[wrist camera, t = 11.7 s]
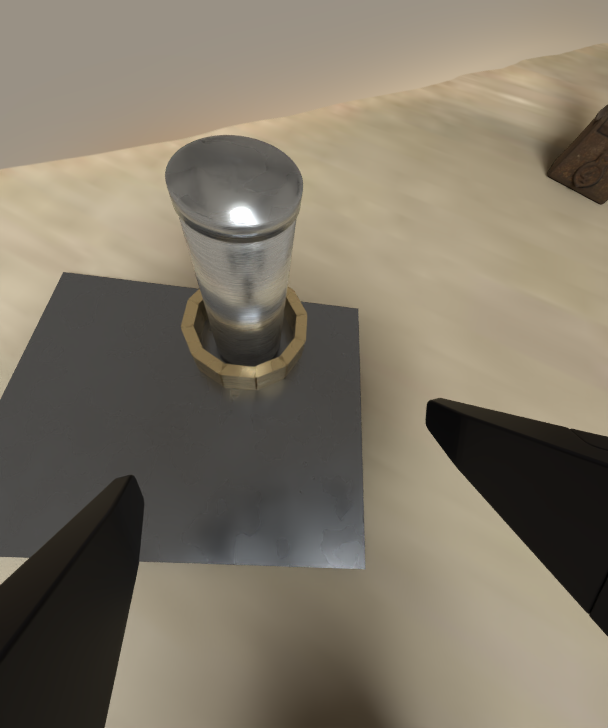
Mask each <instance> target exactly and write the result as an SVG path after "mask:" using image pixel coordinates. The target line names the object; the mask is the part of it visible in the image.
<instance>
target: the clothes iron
mask: <svg viewBox="0 0 608 728" xmlns="http://www.w3.org/2000/svg"><path fill="white" fill-rule="evenodd" d="M548 176H549V177H551V178H552V179H554V180H556V181H558V182H560V183H562V184H564V185H566V186H567V187H569V188H571V189H573V190H575V191H577V192H579V193H581V194H583V195H584V196H586V197H588V198H590V199H592V200H594V201H596V202H598V203H600V204H604V203H605V202H606V201H607V200H608V105H606V106H605V107H604V108H603V109H601V110H600V111H599V112H598V114H597V115H596V117H595V118H594V119H593V120H592V122H591V123H590V124H589V125H588V126H587V127H586V128H585V129H584V131H583V132H582V133H581V134H580V135H579V136H578V137H577V138H576V139H575V140H574V142H573V143H572V144H571V145H570V146H569V147H568V148H567V149H566V150H565V151H564V152H563V153H562V154H561V155H560V156H559V157H558V158H557V159H556V160H555V162H554V163H553V165H552V166H551V168H550V170H549V172H548Z"/></svg>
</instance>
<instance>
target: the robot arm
mask: <svg viewBox="0 0 608 728" xmlns="http://www.w3.org/2000/svg"><path fill="white" fill-rule="evenodd" d="M426 426H427V428H428V430H429V431H430V433H431V434H432V435H433V437H434V438H435V439H436V441H437V442H438V443H439V445H440V446H441V447H442V449H443V450H444V452H445V453H446V454H447V456H448V457H449V458H450V460H451V461H452V462H453V463H454V465H455V466H456V467H457V468H458V470H459V471H460V472H461V473H462V474H463V475H464V476H465V477H466V479H467V480H468V481H469V482H470V483H471V484H472V485H473V486H474V487H475V489H476V490H477V491H478V492H479V493H480V494H481V495H482V496H483V498H484V499H485V500H486V501H487V502H488V503H489V504H490V505H491V506H492V508H493V509H494V510H495V511H496V512H497V513H498V514H499V515H500V516H501V518H502V519H503V520H504V521H505V522H506V523H507V524H508V525H509V527H510V528H511V529H512V530H513V531H514V532H515V533H516V534H517V535H518V537H519V538H520V539H521V540H522V541H523V542H524V543H525V544H526V545H527V547H528V548H529V549H530V550H531V551H532V552H533V553H534V554H535V556H536V557H537V558H538V559H539V560H540V561H541V562H542V563H543V564H544V566H545V567H546V568H547V569H548V570H549V571H550V572H551V573H552V574H553V576H554V577H555V578H556V579H557V580H558V581H559V582H560V583H561V585H562V586H563V587H564V588H565V589H566V590H567V591H568V592H569V593H570V595H571V596H572V597H573V598H574V599H575V600H576V601H577V602H578V604H579V605H580V606H581V607H582V608H583V609H584V610H585V611H586V612H587V613H588V614H589V616H590V617H591V618H592V619H593V621H594V622H595V623H596V624H597V625H598V626H599V627H600V628H601V629H602V631H603V632H604V633H605V634H606V635H607V636H608V437H606V436H602V435H597V434H593V433H589V432H584V431H580V430H576V429H569V428H567V427H563V426H558V425H554V424H550V423H546V422H541V421H537V420H533V419H528V418H524V417H520V416H516V415H511V414H507V413H503V412H499V411H494V410H490V409H486V408H482V407H477V406H473V405H469V404H464V403H460V402H456V401H452V400H447V399H443V398H437V399H433V400H430V401H428V403H427V409H426ZM143 516H144V498H143V495H142V492H141V490H140V487H139V485H138V482H137V480H136V478H135V476H134V475H127V476H123V477H119V478H116V479H114V480H113V481H112V482H111V483H110V484H109V485H108V486H107V487H106V488H105V489H103V490H102V491H101V492H100V493H99V494H98V495H97V496H96V497H95V498H94V499H93V500H92V501H91V502H89V503H88V504H87V505H86V506H85V507H84V508H83V509H82V510H81V511H80V512H79V513H78V514H76V515H75V516H74V517H73V518H72V519H71V520H70V521H69V522H68V523H67V524H66V525H65V526H64V527H62V528H61V529H60V530H59V531H58V532H57V533H56V534H55V535H54V536H53V537H52V538H51V539H49V540H48V541H47V542H46V543H45V544H44V545H43V546H42V547H41V548H40V549H39V550H38V551H37V552H35V553H34V554H33V555H32V556H31V557H30V558H29V559H28V560H27V561H26V562H25V563H24V564H22V565H21V566H20V567H19V568H18V569H17V570H16V571H15V572H14V573H13V574H12V575H11V576H10V577H8V578H7V579H6V580H5V581H4V582H3V583H2V584H1V585H0V728H105V723H106V718H107V714H108V709H109V704H110V699H111V695H112V690H113V685H114V680H115V676H116V671H117V666H118V661H119V656H120V652H121V647H122V642H123V637H124V633H125V628H126V623H127V618H128V614H129V609H130V604H131V599H132V595H133V590H134V585H135V580H136V576H137V570H138V565H139V557H140V547H141V537H142V526H143Z"/></svg>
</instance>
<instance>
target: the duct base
mask: <svg viewBox="0 0 608 728" xmlns="http://www.w3.org/2000/svg"><path fill="white" fill-rule="evenodd" d="M127 475H134V476H135V478H136V480H137V482H138V485H139V487H140V490H141V492H142V495H143V498H144V516H143V526H142V537H141V547H140V557H139V561H141V562H171V563H201V564H230V565H260V566H289V567H319V568H348V569H365V539H364V503H363V467H362V430H361V394H360V358H359V322H358V309H356V308H348V307H340V306H332V305H324V304H316V303H308V302H300V300H299V298H298V297H297V295H296V293H295V291H293V289H291V288H290V287H288V286H287V294H286V301H285V309H284V316H283V324H282V332H281V339H280V345H279V348H278V351H277V352H276V354H275V355H274V356H273V357H272V358H271V359H270V360H269V361H267V362H265V363H262V364H260V365H257V366H255V367H252V366H242V365H234V364H232V363H230V362H228V361H227V360H225V359H224V358H223V357H222V356H221V354H220V353H219V351H218V349H217V346H216V343H215V339H214V336H213V332H212V329H211V325H210V322H209V319H208V315H207V312H206V308H205V305H204V301H203V298H202V294H201V291H200V289H195V288H187V287H179V286H171V285H163V284H155V283H147V282H139V281H131V280H123V279H115V278H107V277H99V276H90V275H82V274H74V273H66V272H63V274H62V276H61V278H60V280H59V282H58V284H57V286H56V288H55V290H54V292H53V294H52V296H51V298H50V300H49V302H48V304H47V306H46V308H45V310H44V312H43V314H42V316H41V318H40V320H39V323H38V325H37V327H36V329H35V331H34V333H33V335H32V337H31V339H30V341H29V343H28V345H27V347H26V349H25V351H24V353H23V355H22V357H21V359H20V361H19V363H18V365H17V367H16V369H15V371H14V373H13V375H12V377H11V379H10V381H9V383H8V385H7V387H6V389H5V391H4V393H3V395H2V397H1V399H0V557H23V558H30V557H31V556H32V555H33V554H34V553H35V552H37V551H38V550H39V549H40V548H41V547H42V546H43V545H44V544H45V543H46V542H47V541H48V540H49V539H51V538H52V537H53V536H54V535H55V534H56V533H57V532H58V531H59V530H60V529H61V528H62V527H64V526H65V525H66V524H67V523H68V522H69V521H70V520H71V519H72V518H73V517H74V516H75V515H76V514H78V513H79V512H80V511H81V510H82V509H83V508H84V507H85V506H86V505H87V504H88V503H89V502H91V501H92V500H93V499H94V498H95V497H96V496H97V495H98V494H99V493H100V492H101V491H102V490H103V489H105V488H106V487H107V486H108V485H109V484H110V483H111V482H112V481H113V480H114V479H116V478H119V477H123V476H127Z"/></svg>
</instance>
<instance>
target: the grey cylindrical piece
mask: <svg viewBox="0 0 608 728" xmlns="http://www.w3.org/2000/svg"><path fill="white" fill-rule="evenodd" d="M165 179H166V184H167V188H168V191H169V194H170V198H171V201H172V204H173V207H174V209H175V211H176V213H177V214H178V216H179V219H180V222H181V226H182V229H183V232H184V236H185V239H186V243H187V246H188V250H189V253H190V257H191V260H192V263H193V267H194V270H195V274H196V277H197V281H198V284H199V288H200V291H201V294H202V298H203V301H204V305H205V308H206V312H207V315H208V319H209V322H210V325H211V329H212V332H213V336H214V339H215V343H216V346H217V349H218V351H219V353H220V354H221V356H222V357H223V358H224V359H225V360H227V361H228V362H230V363H232V364H234V365H242V366H252V367H255V366H257V365H260V364H262V363H265V362H267V361H269V360H270V359H271V358H272V357H273V356H274V355H275V354H276V352H277V351H278V348H279V345H280V339H281V332H282V324H283V316H284V309H285V301H286V294H287V286H288V278H289V271H290V263H291V256H292V248H293V240H294V233H295V225H296V218H297V216H298V214H299V210H300V206H301V198H302V191H303V180H302V176H301V173H300V171H299V169H298V167H297V166H296V164H295V163H294V162H293V161H292V160H291V159H290V157H288V156H287V155H286V154H285V153H284V152H282V151H281V150H279V149H278V148H276V147H274V146H272V145H270V144H268V143H265V142H263V141H260V140H257V139H253V138H249V137H243V136H235V135H219V136H211V137H206V138H202V139H198V140H196V141H193V142H191V143H189V144H187V145H185V146H184V147H182V148H180V149H179V150H178V151H177V152H176V153H175V154H174V155H173V156H172V157H171V159H170V161H169V162H168V165H167V167H166V172H165Z"/></svg>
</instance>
